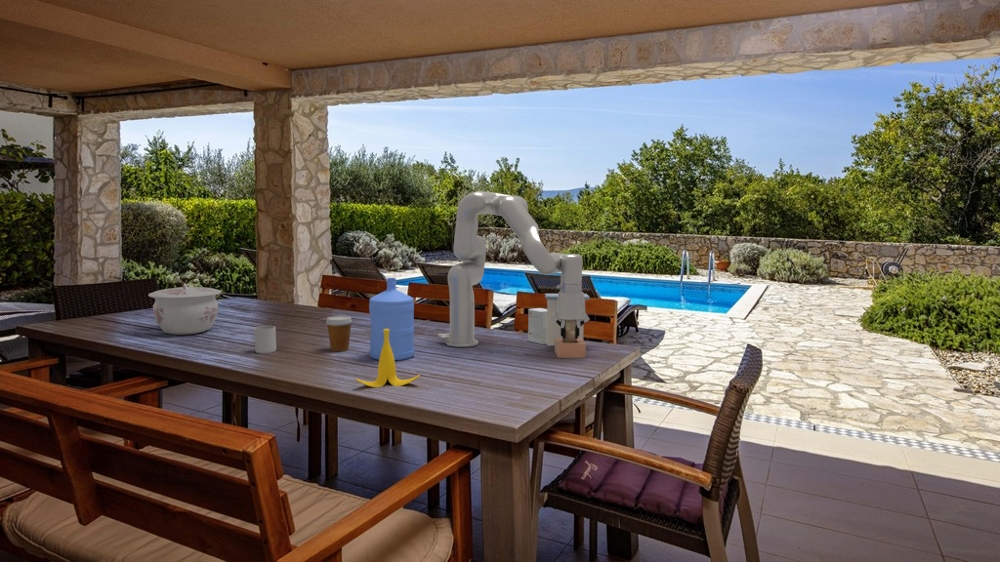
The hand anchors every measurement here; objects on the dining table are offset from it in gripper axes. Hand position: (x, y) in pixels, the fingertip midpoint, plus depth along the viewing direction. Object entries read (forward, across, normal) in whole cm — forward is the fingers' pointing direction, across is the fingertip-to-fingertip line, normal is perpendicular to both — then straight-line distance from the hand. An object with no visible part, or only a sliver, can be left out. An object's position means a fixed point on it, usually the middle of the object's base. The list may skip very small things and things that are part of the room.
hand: (569, 337), depth 231 cm
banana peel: (+7, -58, -39) cm, 70 cm away
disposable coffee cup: (+7, -85, +6) cm, 85 cm away
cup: (+7, -111, +4) cm, 111 cm away
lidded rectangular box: (+6, 0, +13) cm, 14 cm away
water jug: (+7, -64, -4) cm, 64 cm away
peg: (+3, 0, 0) cm, 3 cm away
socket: (+6, 0, 0) cm, 6 cm away
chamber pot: (+7, -156, +38) cm, 161 cm away
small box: (+6, -9, +22) cm, 25 cm away
